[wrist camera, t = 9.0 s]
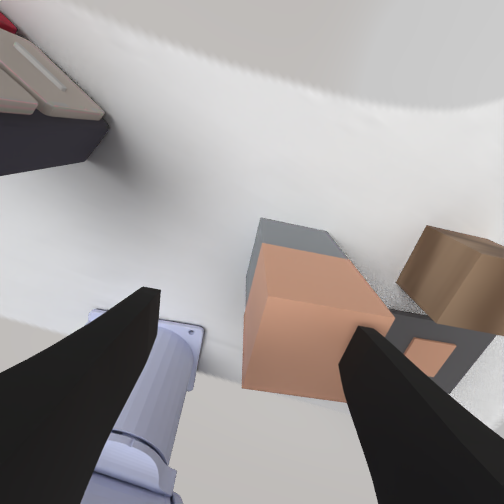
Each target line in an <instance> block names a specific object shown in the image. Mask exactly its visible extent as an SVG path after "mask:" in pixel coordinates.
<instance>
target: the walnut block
mask: <svg viewBox="0 0 504 504" xmlns="http://www.w3.org/2000/svg"><path fill="white" fill-rule="evenodd" d="M396 283H397V284H398V285H399V286H400V287H401V288H402V289H403V290H404V291H405V292H406V293H407V294H408V295H409V296H410V297H411V298H412V299H413V300H414V301H415V302H416V304H417V305H418V306H419V307H420V308H421V309H422V310H423V311H424V312H425V313H426V314H427V315H428V316H429V317H430V318H431V319H432V320H433V321H434V322H435V323H437V324H442V325H448V326H453V327H458V328H464V329H469V330H474V331H480V332H485V333H490V334H496V335H501V336H504V246H502V245H499V244H497V243H495V242H493V241H490V240H488V239H485V238H480V237H476V236H471V235H467V234H463V233H458V232H454V231H450V230H445V229H441V228H436V227H432V226H428V225H427V226H426V227H425V229H424V231H423V233H422V235H421V237H420V239H419V241H418V242H417V244H416V246H415V248H414V250H413V252H412V254H411V255H410V257H409V259H408V261H407V263H406V265H405V267H404V268H403V270H402V272H401V274H400V276H399V278H398V280H397V282H396Z"/></svg>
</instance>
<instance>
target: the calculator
mask: <svg viewBox="0 0 504 504" xmlns="http://www.w3.org/2000/svg"><path fill="white" fill-rule="evenodd" d="M16 31H17V28H16V27H15V26H14V25H13V24H12V23H11V22H10V21H9V20H8V19H7V18H6V17H5V16H4V15H3V14H2V13H1V12H0V176H3V175H9V174H15V173H21V172H27V171H33V170H38V169H44V168H50V167H56V166H62V165H67V164H73V163H79V162H84V161H85V160H86V159H87V158H88V156H89V155H90V154H91V153H92V151H93V150H94V149H95V147H96V146H97V145H98V143H99V142H100V141H101V139H102V138H103V137H104V135H105V134H106V132H107V131H108V129H109V125H108V124H107V123H106V122H105V121H104V120H103V119H102V117H103V115H104V114H105V112H104V111H103V110H102V109H101V108H100V107H99V106H98V105H97V104H96V103H95V102H94V101H93V100H92V99H91V98H90V97H89V96H88V95H87V94H86V93H85V92H84V91H82V90H81V89H80V88H79V87H78V86H77V85H76V84H75V83H74V82H73V81H72V80H71V79H70V78H69V77H68V76H67V75H66V74H65V73H64V72H63V71H62V70H61V69H60V68H58V67H57V66H56V65H55V64H54V63H53V62H52V61H51V60H50V59H49V58H48V57H47V56H46V55H45V54H44V53H43V52H42V51H41V50H40V49H39V48H38V47H36V46H35V45H34V44H33V43H32V42H30V41H29V40H27V39H25V38H22V37H20V36H17V35H15V33H16Z"/></svg>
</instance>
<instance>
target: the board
mask: <svg viewBox="0 0 504 504" xmlns="http://www.w3.org/2000/svg"><path fill="white" fill-rule="evenodd" d="M389 311H390V312H391V313H392V314H393V316H394V317H395V320H394V322H393V323H392V325H391V327H390V329H389V331H388V332H387V334H386V336H385V338H386V339H387V340H388V341H389V342H391V343H392V344H393V345H394V346H395V347H396V348H397V349H398V350H399V351H401V352H402V353H403V354H404V355H405V356H406V357H407V358H408V359H409V360H410V361H411V362H413V363H414V364H415V365H416V366H417V367H418V368H419V369H420V370H421V371H422V372H424V373H425V374H426V375H427V376H428V377H429V378H430V379H431V380H432V381H434V382H435V383H436V384H437V385H438V386H439V387H440V388H442V389H443V390H444V391H445V392H446V393H449V394H450V393H451V391H452V390H453V389H454V388H455V386H456V385H457V384H458V383H459V381H460V380H461V379H462V378H463V376H464V375H465V374H466V373H467V371H468V370H469V369H470V368H471V366H472V365H473V364H474V363H475V361H476V360H477V359H478V358H479V356H480V355H481V354H482V353H483V351H484V350H485V349H486V348H487V346H488V345H489V344H490V343H491V341H492V340H493V339H494V338H495V336H496V334H490V333H485V332H480V331H474V330H469V329H464V328H458V327H453V326H448V325H442V324H437V323H435V322H434V321H433V320H432V319H431V318H430V317H429V316H425V315H420V314H414V313H409V312H403V311H398V310H393V309H389Z"/></svg>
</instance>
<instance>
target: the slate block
mask: <svg viewBox="0 0 504 504" xmlns="http://www.w3.org/2000/svg"><path fill="white" fill-rule="evenodd" d="M262 243H266V244H271V245H277V246H282V247H287V248H292V249H297V250H302V251H308V252H313V253H318V254H323V255H328V256H333V257H338V258H344V259H348V258H347V257H346V255H345V254H344V253H343V251H342V250H341V249H340V248H339V246H338V245H337V244H336V243H335V241H334V240H333V239H332V237H331V236H330V235H329V234H328V232H327V231H323V230H318V229H313V228H308V227H304V226H299V225H294V224H289V223H284V222H280V221H275V220H270V219H265V218H260V222H259V226H258V230H257V234H256V238H255V242H254V246H253V251H252V255H251V259H250V263H249V267H248V271H247V275H246V305H247V301H248V297H249V293H250V289H251V285H252V281H253V277H254V273H255V269H256V265H257V261H258V257H259V253H260V249H261V245H262ZM245 309H246V308H245Z"/></svg>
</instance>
